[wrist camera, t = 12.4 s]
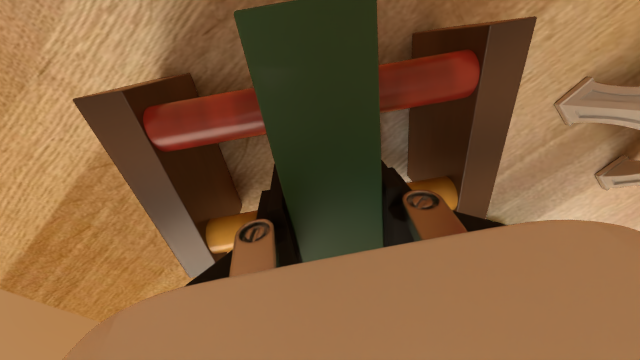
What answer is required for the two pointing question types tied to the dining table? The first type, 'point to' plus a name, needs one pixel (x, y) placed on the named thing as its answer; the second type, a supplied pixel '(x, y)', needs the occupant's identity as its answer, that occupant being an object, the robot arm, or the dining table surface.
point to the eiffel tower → (605, 122)
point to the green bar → (321, 117)
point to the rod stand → (246, 121)
